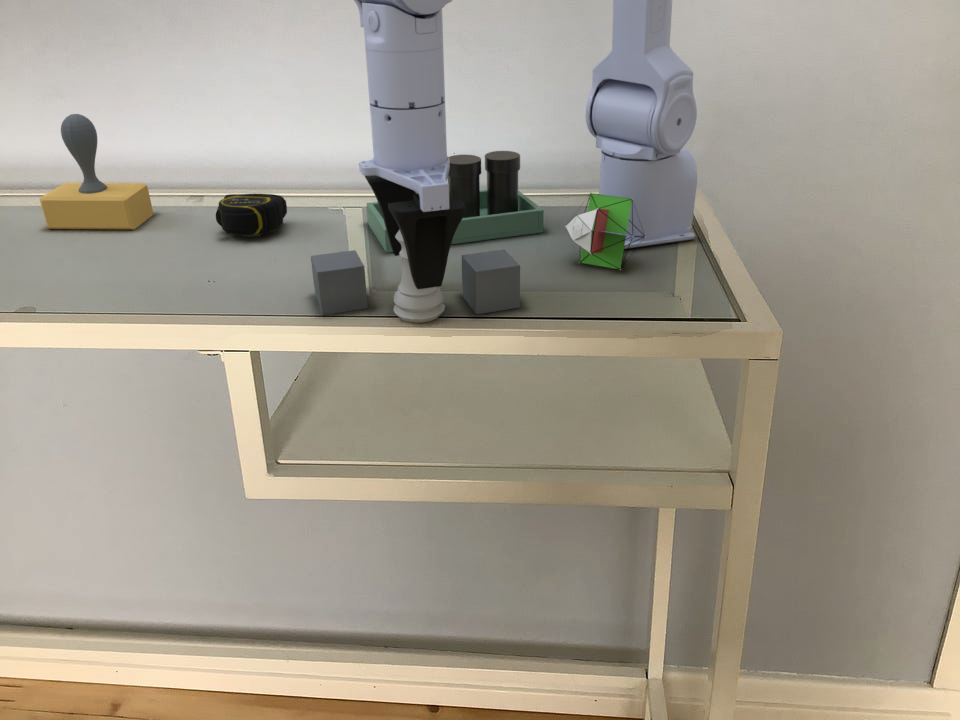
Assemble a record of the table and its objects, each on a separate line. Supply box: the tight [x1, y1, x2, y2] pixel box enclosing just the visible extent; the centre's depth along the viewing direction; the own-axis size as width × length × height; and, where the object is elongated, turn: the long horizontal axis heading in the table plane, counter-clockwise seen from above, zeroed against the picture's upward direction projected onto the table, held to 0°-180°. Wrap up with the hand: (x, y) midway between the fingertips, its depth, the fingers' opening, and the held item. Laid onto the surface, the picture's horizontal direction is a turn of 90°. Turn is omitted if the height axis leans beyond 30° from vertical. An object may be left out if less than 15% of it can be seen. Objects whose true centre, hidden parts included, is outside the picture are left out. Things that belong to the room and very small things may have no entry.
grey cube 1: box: [310, 249, 369, 316], centre depth 71 cm, size 4×4×4 cm
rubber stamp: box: [39, 113, 154, 231], centre depth 90 cm, size 10×6×12 cm, turn 86°
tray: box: [366, 188, 545, 254], centre depth 88 cm, size 17×9×2 cm, turn 108°
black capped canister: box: [484, 150, 521, 215], centre depth 88 cm, size 4×4×7 cm
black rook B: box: [447, 154, 482, 218], centre depth 87 cm, size 4×4×7 cm
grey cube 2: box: [461, 249, 521, 315], centre depth 71 cm, size 4×4×4 cm
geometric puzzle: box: [564, 192, 646, 271], centre depth 78 cm, size 7×7×8 cm
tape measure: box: [215, 193, 288, 238], centre depth 88 cm, size 7×7×4 cm
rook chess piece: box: [392, 229, 446, 324], centre depth 68 cm, size 4×4×8 cm
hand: (416, 269), depth 68 cm, fingers open, 7 cm apart
